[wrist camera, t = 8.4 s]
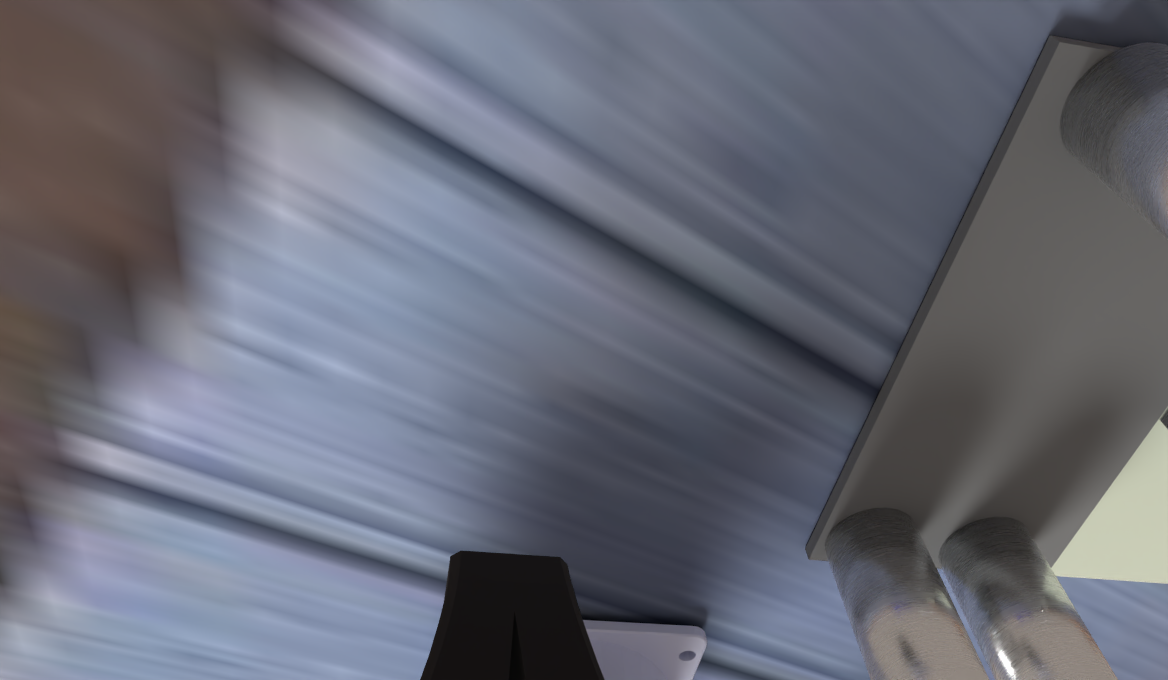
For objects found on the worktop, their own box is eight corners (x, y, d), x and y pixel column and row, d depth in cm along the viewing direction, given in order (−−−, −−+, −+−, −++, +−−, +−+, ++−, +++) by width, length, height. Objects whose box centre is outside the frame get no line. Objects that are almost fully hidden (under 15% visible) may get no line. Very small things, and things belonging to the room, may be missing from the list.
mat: (1170, 574, 28) (1177, 584, 28) (805, 548, 27) (809, 559, 26) (1551, 122, 20) (1567, 130, 19) (1049, 35, 18) (1059, 42, 18)
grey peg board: (1035, 582, 28) (1124, 738, 24) (812, 567, 26) (866, 729, 22) (1391, 83, 19) (1636, 200, 15) (1076, 28, 17) (1248, 138, 13)
